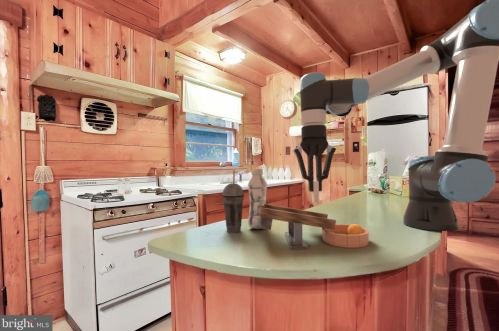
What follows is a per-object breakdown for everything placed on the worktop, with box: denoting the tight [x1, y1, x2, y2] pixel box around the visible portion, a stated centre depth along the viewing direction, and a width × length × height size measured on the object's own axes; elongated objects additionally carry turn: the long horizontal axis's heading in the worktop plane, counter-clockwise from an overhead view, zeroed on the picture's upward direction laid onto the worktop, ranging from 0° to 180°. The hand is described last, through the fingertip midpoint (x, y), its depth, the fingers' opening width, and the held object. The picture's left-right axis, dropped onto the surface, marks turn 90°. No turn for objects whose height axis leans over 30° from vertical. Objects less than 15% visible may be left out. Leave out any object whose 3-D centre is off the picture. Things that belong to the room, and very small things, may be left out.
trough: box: [259, 202, 337, 231], centre depth 74 cm, size 20×15×6 cm
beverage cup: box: [221, 169, 245, 233], centre depth 83 cm, size 7×7×20 cm
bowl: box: [321, 223, 370, 249], centre depth 71 cm, size 12×12×3 cm
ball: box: [347, 223, 363, 235], centre depth 71 cm, size 4×4×4 cm
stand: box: [284, 222, 308, 250], centre depth 71 cm, size 4×13×6 cm, turn 179°
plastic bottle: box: [247, 168, 268, 230], centre depth 85 cm, size 6×7×20 cm
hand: (315, 202), depth 78 cm, fingers closed
